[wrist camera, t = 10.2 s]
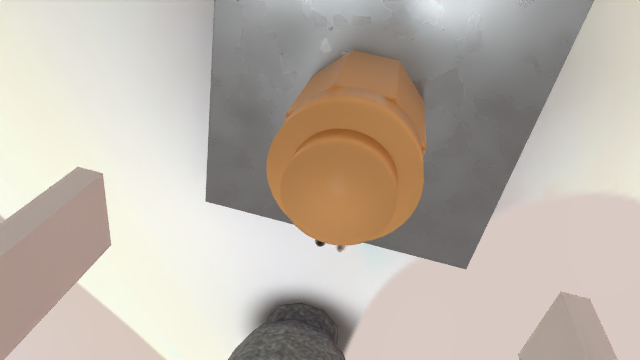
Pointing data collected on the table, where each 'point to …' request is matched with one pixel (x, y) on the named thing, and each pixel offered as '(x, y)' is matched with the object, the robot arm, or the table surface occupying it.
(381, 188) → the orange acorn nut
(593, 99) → the table surface
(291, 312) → the mortar and pestle
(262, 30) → the junction plate
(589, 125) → the table surface
